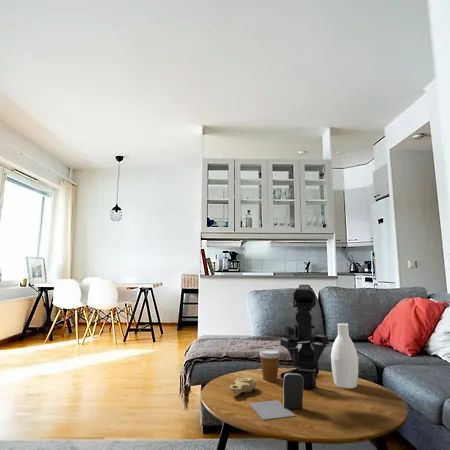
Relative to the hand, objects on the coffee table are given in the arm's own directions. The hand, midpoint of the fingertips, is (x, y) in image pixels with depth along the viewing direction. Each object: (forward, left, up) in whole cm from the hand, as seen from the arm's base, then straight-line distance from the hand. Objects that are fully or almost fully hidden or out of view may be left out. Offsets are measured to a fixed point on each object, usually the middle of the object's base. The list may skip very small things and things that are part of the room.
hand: (305, 364), depth 126 cm
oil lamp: (+19, -16, -14) cm, 28 cm away
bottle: (-26, -13, -14) cm, 32 cm away
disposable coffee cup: (+2, -29, -14) cm, 32 cm away
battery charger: (+8, +3, -13) cm, 16 cm away
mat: (+16, +3, -13) cm, 21 cm away
